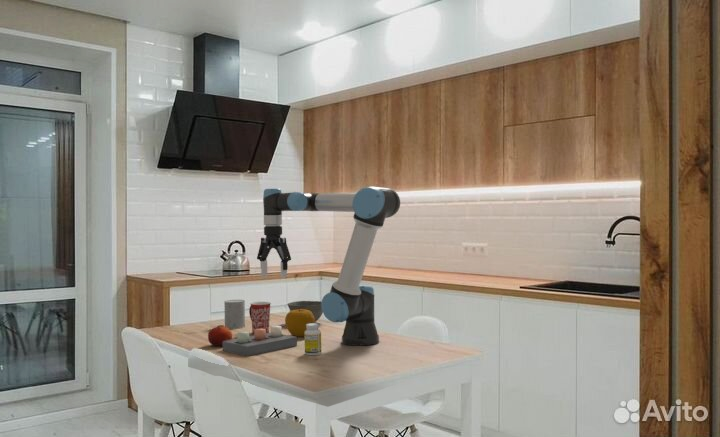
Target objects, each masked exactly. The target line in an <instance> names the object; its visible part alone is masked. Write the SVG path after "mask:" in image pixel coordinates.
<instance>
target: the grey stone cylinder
mask: <svg viewBox="0 0 720 437" xmlns="http://www.w3.org/2000/svg"><path fill="white" fill-rule="evenodd" d="M245 306H246V301H245V300H244V299H227V300H224V326H225V327H227V328H228V329H229V330H231V329H232V330H235V329H237V328H238V329H243V328H245V327H246V313H245V312H246V309H245V308H246V307H245Z"/></svg>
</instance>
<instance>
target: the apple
mask: <svg viewBox="0 0 720 437" xmlns="http://www.w3.org/2000/svg"><path fill="white" fill-rule="evenodd" d="M284 320H285V321H284V323H285V327H286V329H287V331H288V332H289V333H290V334H291V336H295V337H297V338H304V333H305V331H306V330H307V329H306V324H311V323H316V322H315V318H314V316H313V314H312V312H311V311H309V310H306V309H297V310H292V311H290V310H289V312H287V314H286V316H285V319H284Z"/></svg>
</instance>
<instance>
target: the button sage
mask: <svg viewBox="0 0 720 437" xmlns="http://www.w3.org/2000/svg"><path fill="white" fill-rule="evenodd" d="M236 334H237V338H236V339H238V343H239V344H245V343H249V336H250V332H249V331H238V332H237V333H236Z"/></svg>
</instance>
